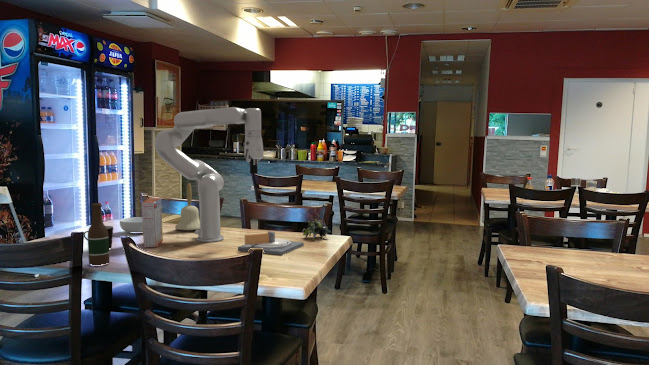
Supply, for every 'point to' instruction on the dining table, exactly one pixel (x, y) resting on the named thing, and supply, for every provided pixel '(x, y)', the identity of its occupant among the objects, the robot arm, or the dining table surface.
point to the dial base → (274, 247)
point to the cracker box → (152, 222)
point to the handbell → (189, 214)
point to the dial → (264, 239)
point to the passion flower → (316, 228)
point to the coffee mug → (110, 234)
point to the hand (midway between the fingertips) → (253, 173)
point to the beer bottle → (98, 238)
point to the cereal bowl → (132, 224)
